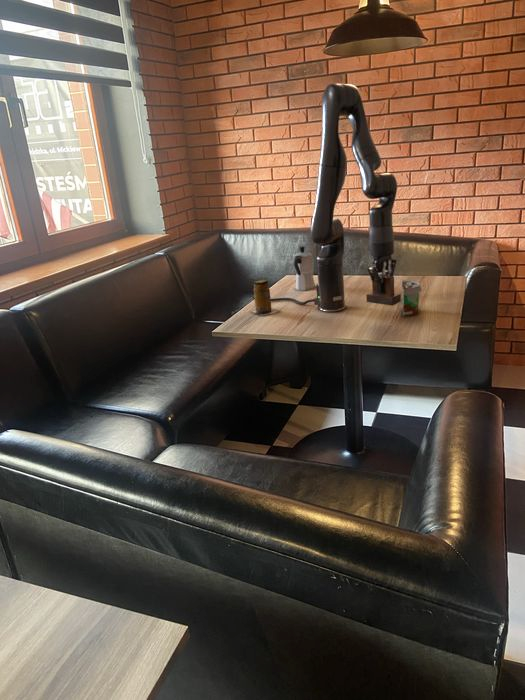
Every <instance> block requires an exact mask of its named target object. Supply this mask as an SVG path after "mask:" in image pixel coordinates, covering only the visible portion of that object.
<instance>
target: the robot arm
mask: <svg viewBox="0 0 525 700" xmlns="http://www.w3.org/2000/svg"><path fill="white" fill-rule="evenodd" d="M340 117H346V118H347V119H348V121H349V123H350V125H351V129H352V135H351V152H352V155H353V157H354V160H355V162H356V164H357V167H358V169H359V176H360V183H361V184H360V185H361V191H362V193H363V195H364V196H365V197H366V198H368V200H369V199H370V200H376V199H379V200H378V203H377V204H376V205H374V206H372V207H371V208H370V209H369V211H368V215H369V216H368V219H369V221H368V222H369V231H368V236H369V237H368V239H369V241H368V242H369V255H370V256H371V257H372V265H371V266H368V267H367V272H368V274H369V277H370V279H371V283H372V282H376V283H377V293H378V294H384V283H383V282H384V276H385V275H386V276H394V274H395V270H396V266H397V262H398V261H397V259H395V258H394V259H393V258H392V255H394V254H395V240H394V237H395V236H394V233H395V232H394V228H393V227H394V225H393V211H394V210H393V209H394V207H395V202H396V196H397V192H398V181H397V178H396V177H395V175H394V174H393V173H390V172H385V173H377V174H376V173H375V172H376V171H377V170H378V169H380V168H381V166H382V158H381V156H380V153H379V151H378V149H377V146H376V144H375V142H374V140H373V137H372V135H371V132H370V128H369V124H368V120H367V115H366V112H365V108H364V103H363V99H362V96H361V93H360V90H359V89H358V87H357V86H356V85H353V84H351V83H329V84H328V85H327V86H326V87H325V89H324V90H323V94H322V98H321V138H320V152H319V160H318V171H317V183H316V195H315V204H314V211H313V216H312V219H311V226H310V238H311V240H312V242H313V243H314V245H316V246H318V247H320V251H319V253H318V254H317V255H316V269H317V270H316V271H317V283H316V284H315V288H316V297H314V298H311V299H308V300H305V301H299V300H297V299H295V298H292V297H277V298H276V297H275V298H270V299H271V302H278V301H291V302H294V303H296V304H298V305H300V306H301V305H303V306H304V305H306V304H308V303H313V304H314V306H315V305H316V306H317V309H318V310H320V311H321V312H324V313H335V312H340V311H343V310H345V309H346V302H345V301H346V299H345V283H344V265H343V263H344V261H343V258H344V254H345V229H344V225H343V222H342V221H341V220H340V219H339V218H338V217H336V216H334V214H335V208H336V203H337V201H338V198H339V196H340V194H341V192H342V190H343V187H344V185H345V181H346V176H347V168H348V167H347V166H348V158H347V154H346V151H345V149H344V148H345V147H344V145H343V142H342V140H341V138H340V131H339V129H340V128H339V127H340ZM379 276H381V279H380V277H379ZM252 300H255V298H254V296H253V297H252Z"/></svg>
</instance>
